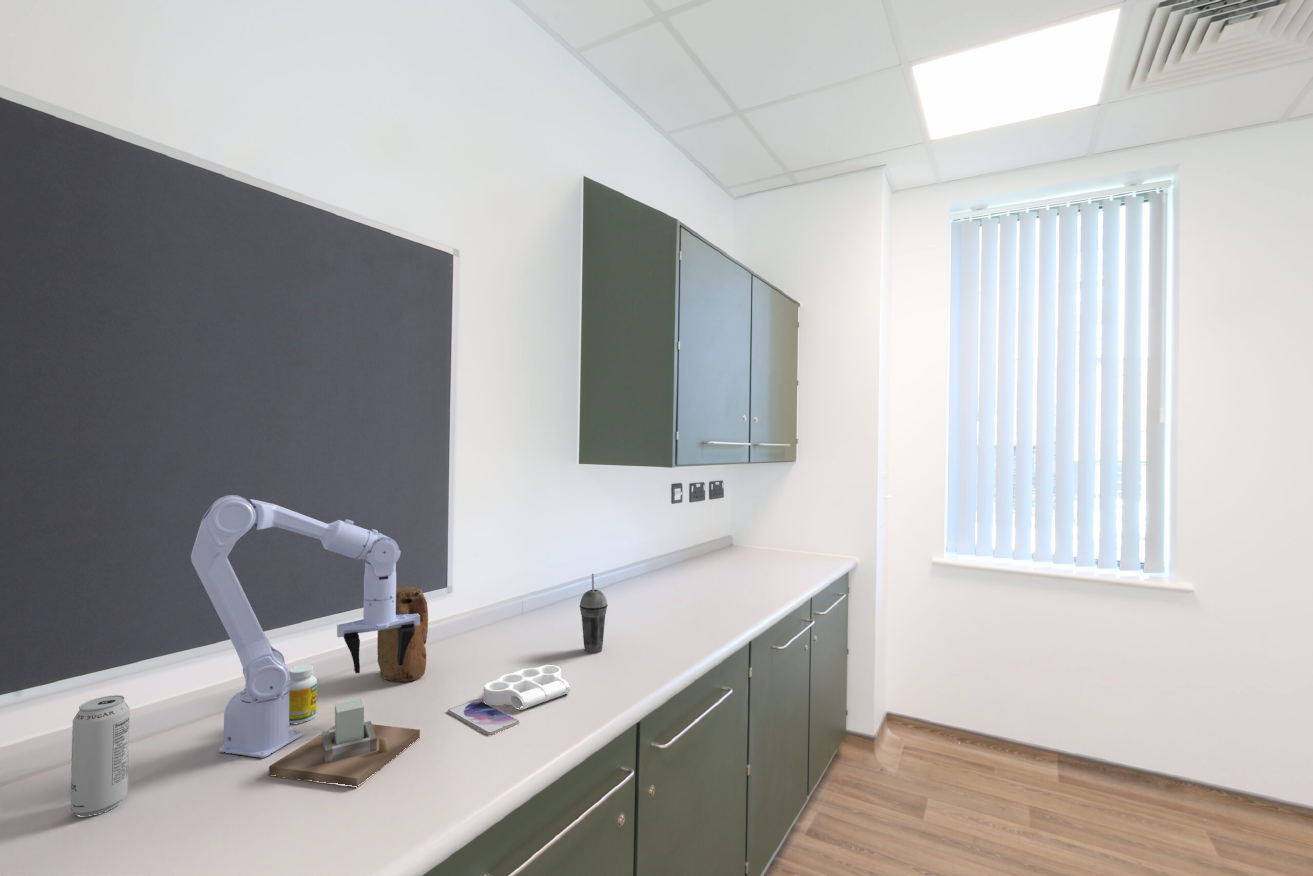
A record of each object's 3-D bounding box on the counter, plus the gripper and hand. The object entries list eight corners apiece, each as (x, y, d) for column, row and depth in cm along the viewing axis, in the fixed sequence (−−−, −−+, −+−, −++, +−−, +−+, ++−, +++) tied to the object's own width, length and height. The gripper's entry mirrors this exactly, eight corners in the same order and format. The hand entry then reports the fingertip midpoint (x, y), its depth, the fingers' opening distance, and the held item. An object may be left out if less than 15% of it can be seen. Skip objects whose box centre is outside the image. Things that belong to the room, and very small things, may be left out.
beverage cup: (609, 646, 156) (610, 570, 156) (604, 655, 148) (605, 576, 149) (582, 645, 156) (583, 569, 157) (576, 654, 149) (576, 575, 149)
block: (373, 676, 134) (375, 588, 135) (403, 666, 141) (404, 582, 141) (403, 687, 128) (404, 594, 129) (432, 675, 135) (433, 588, 135)
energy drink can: (82, 800, 87) (85, 697, 87) (134, 791, 89) (136, 691, 89) (61, 824, 81) (64, 714, 82) (117, 813, 84) (119, 707, 84)
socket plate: (268, 775, 93) (269, 753, 93) (342, 729, 109) (342, 710, 109) (356, 788, 90) (357, 765, 90) (419, 738, 106) (419, 718, 106)
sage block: (336, 755, 97) (337, 712, 97) (334, 745, 100) (335, 703, 100) (363, 749, 99) (364, 707, 99) (360, 739, 102) (361, 698, 102)
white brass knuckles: (508, 720, 114) (471, 697, 124) (582, 692, 127) (543, 674, 137) (508, 702, 114) (472, 681, 124) (582, 677, 127) (543, 659, 137)
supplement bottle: (286, 715, 115) (287, 665, 115) (317, 710, 117) (318, 661, 117) (282, 727, 110) (282, 675, 110) (315, 721, 112) (315, 671, 112)
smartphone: (477, 699, 122) (521, 721, 112) (477, 703, 122) (521, 725, 112) (445, 709, 116) (488, 734, 106) (445, 714, 116) (488, 738, 106)
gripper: (339, 607, 107) (338, 682, 107) (423, 596, 115) (422, 666, 115) (336, 599, 113) (335, 670, 113) (416, 589, 121) (415, 655, 121)
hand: (379, 667), depth 114 cm, fingers open, 7 cm apart
